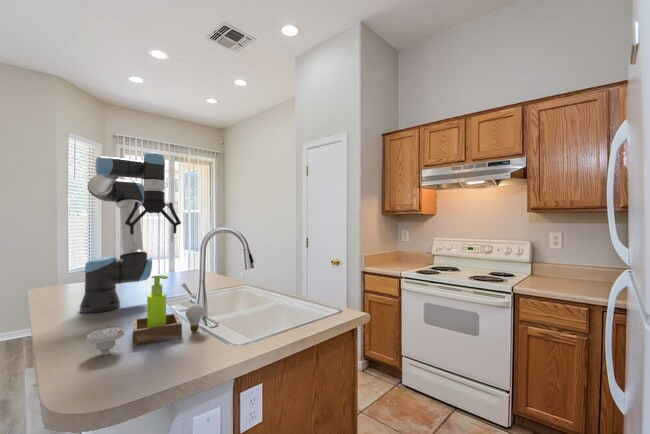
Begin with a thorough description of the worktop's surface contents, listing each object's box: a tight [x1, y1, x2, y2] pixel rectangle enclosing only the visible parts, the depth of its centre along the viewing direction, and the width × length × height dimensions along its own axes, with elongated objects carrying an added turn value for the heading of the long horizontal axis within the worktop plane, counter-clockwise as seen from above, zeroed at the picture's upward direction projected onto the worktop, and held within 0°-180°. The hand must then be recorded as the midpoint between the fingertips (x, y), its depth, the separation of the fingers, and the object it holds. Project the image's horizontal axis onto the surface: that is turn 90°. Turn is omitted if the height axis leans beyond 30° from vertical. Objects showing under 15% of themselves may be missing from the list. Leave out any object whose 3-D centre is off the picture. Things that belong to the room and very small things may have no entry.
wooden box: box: [132, 312, 183, 348], centre depth 111 cm, size 14×14×5 cm
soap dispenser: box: [146, 275, 169, 328], centre depth 111 cm, size 6×7×20 cm
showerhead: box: [86, 326, 125, 356], centre depth 96 cm, size 9×7×10 cm
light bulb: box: [185, 303, 204, 333], centre depth 114 cm, size 6×6×10 cm
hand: (153, 242), depth 130 cm, fingers open, 13 cm apart
